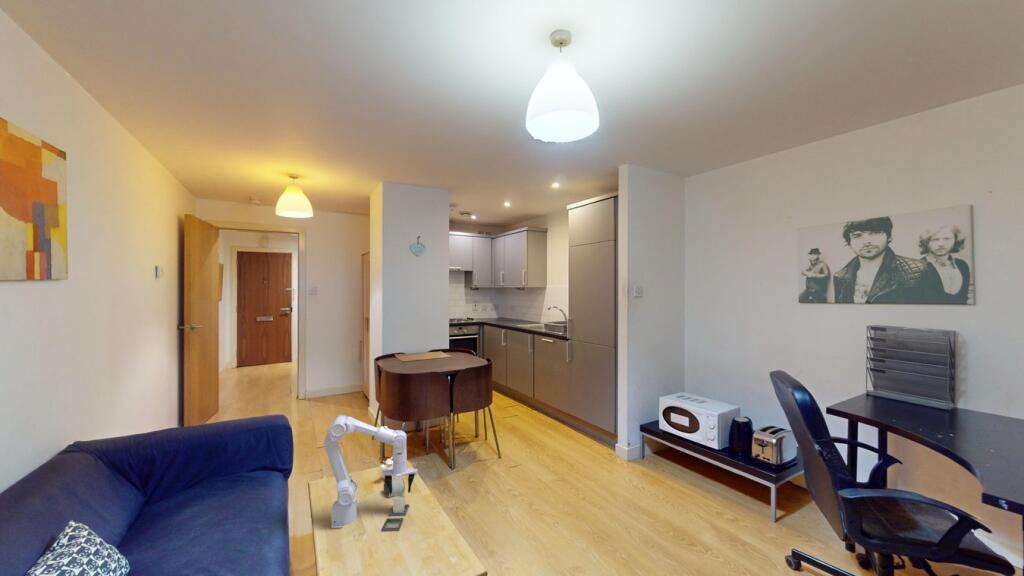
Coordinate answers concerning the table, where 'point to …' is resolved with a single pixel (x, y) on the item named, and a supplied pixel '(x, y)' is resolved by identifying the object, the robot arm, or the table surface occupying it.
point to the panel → (394, 520)
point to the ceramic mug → (395, 486)
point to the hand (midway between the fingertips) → (400, 492)
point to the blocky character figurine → (387, 465)
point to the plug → (399, 503)
